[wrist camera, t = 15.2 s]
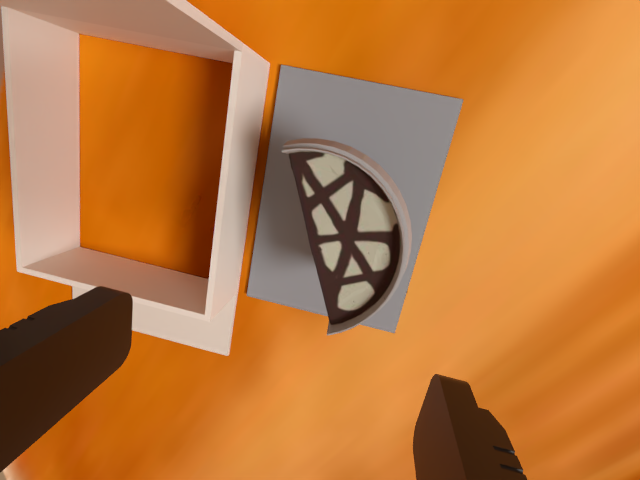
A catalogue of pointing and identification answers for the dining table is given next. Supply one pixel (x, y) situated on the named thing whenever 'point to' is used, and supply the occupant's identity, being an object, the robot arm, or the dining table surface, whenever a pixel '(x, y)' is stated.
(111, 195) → the dining table surface
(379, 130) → the slate mat
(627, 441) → the dining table surface
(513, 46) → the dining table surface
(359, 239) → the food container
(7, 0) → the carton
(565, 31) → the dining table surface
